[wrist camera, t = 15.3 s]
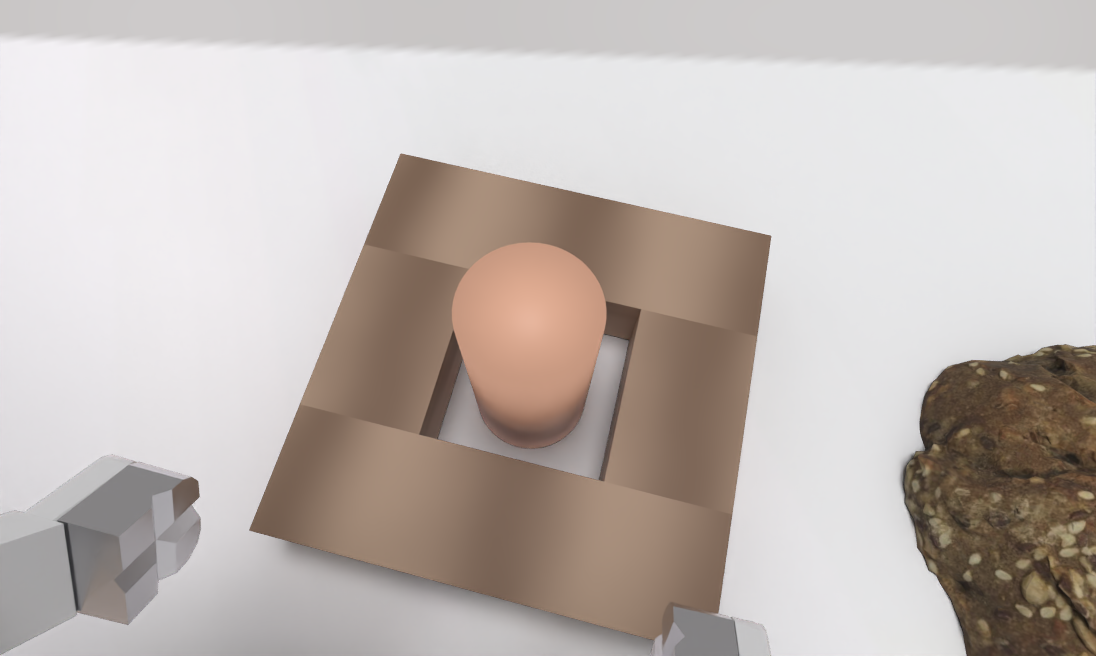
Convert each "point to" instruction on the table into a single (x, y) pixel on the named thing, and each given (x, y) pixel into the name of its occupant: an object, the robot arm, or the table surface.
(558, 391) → the pin
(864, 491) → the table surface
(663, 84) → the table surface
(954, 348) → the table surface
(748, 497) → the table surface
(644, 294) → the pin board
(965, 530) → the bread roll
